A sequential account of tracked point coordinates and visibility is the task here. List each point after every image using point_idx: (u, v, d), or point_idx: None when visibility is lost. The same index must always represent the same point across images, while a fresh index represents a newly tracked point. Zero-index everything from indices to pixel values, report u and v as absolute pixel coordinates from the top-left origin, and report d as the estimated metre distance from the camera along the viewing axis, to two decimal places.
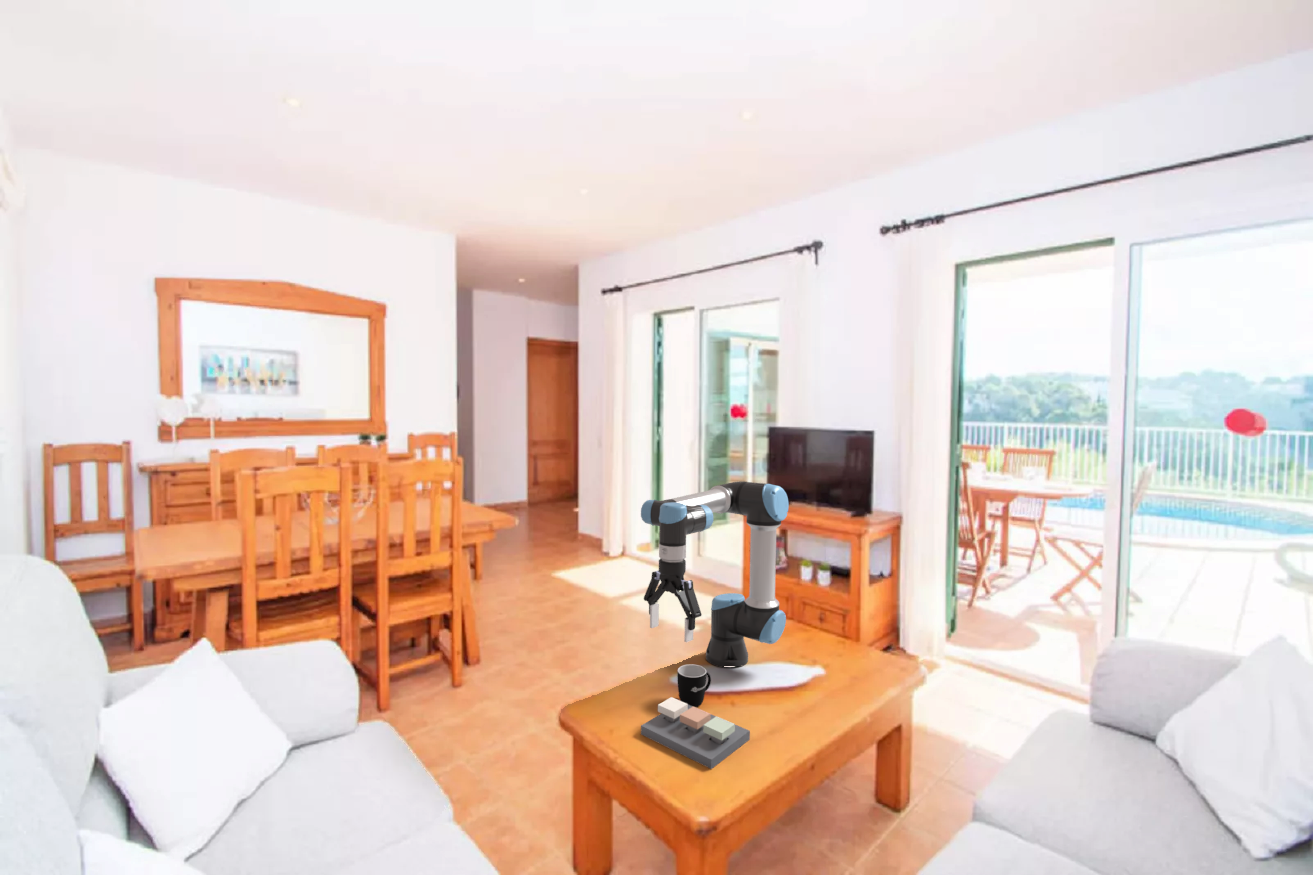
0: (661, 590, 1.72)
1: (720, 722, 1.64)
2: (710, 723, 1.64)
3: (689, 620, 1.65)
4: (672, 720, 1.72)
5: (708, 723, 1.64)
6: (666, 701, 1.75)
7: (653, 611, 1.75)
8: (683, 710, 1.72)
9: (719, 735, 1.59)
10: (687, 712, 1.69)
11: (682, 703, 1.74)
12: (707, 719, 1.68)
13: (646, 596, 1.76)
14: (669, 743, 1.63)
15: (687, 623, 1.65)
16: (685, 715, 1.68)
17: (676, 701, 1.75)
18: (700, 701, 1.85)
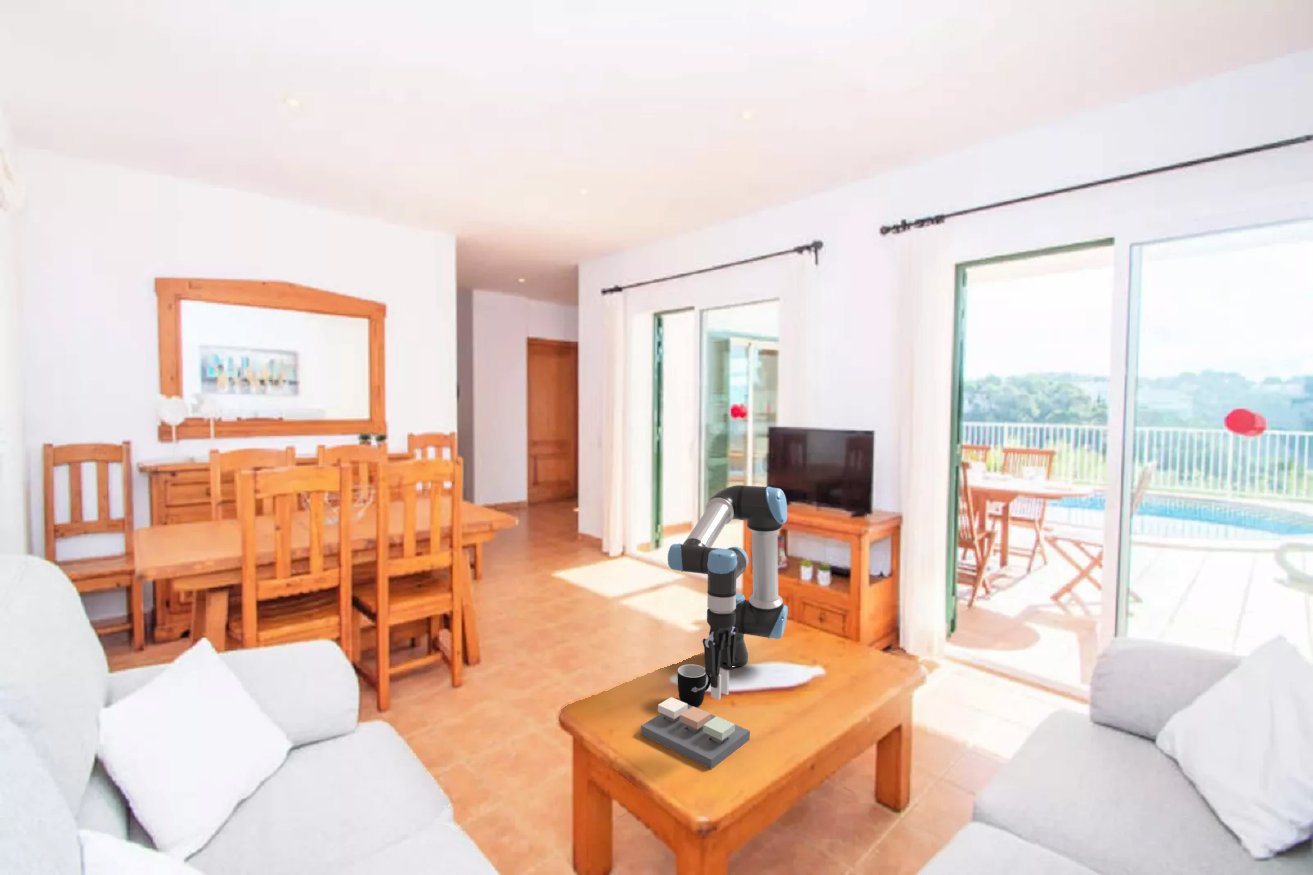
0: None
1: (720, 722, 1.64)
2: (710, 723, 1.64)
3: None
4: (672, 720, 1.72)
5: (708, 723, 1.64)
6: (666, 701, 1.75)
7: (720, 675, 1.64)
8: (683, 710, 1.72)
9: (719, 735, 1.59)
10: (687, 712, 1.69)
11: (682, 703, 1.74)
12: (707, 719, 1.68)
13: None
14: (669, 743, 1.63)
15: None
16: (685, 715, 1.68)
17: (676, 701, 1.75)
18: (700, 701, 1.85)
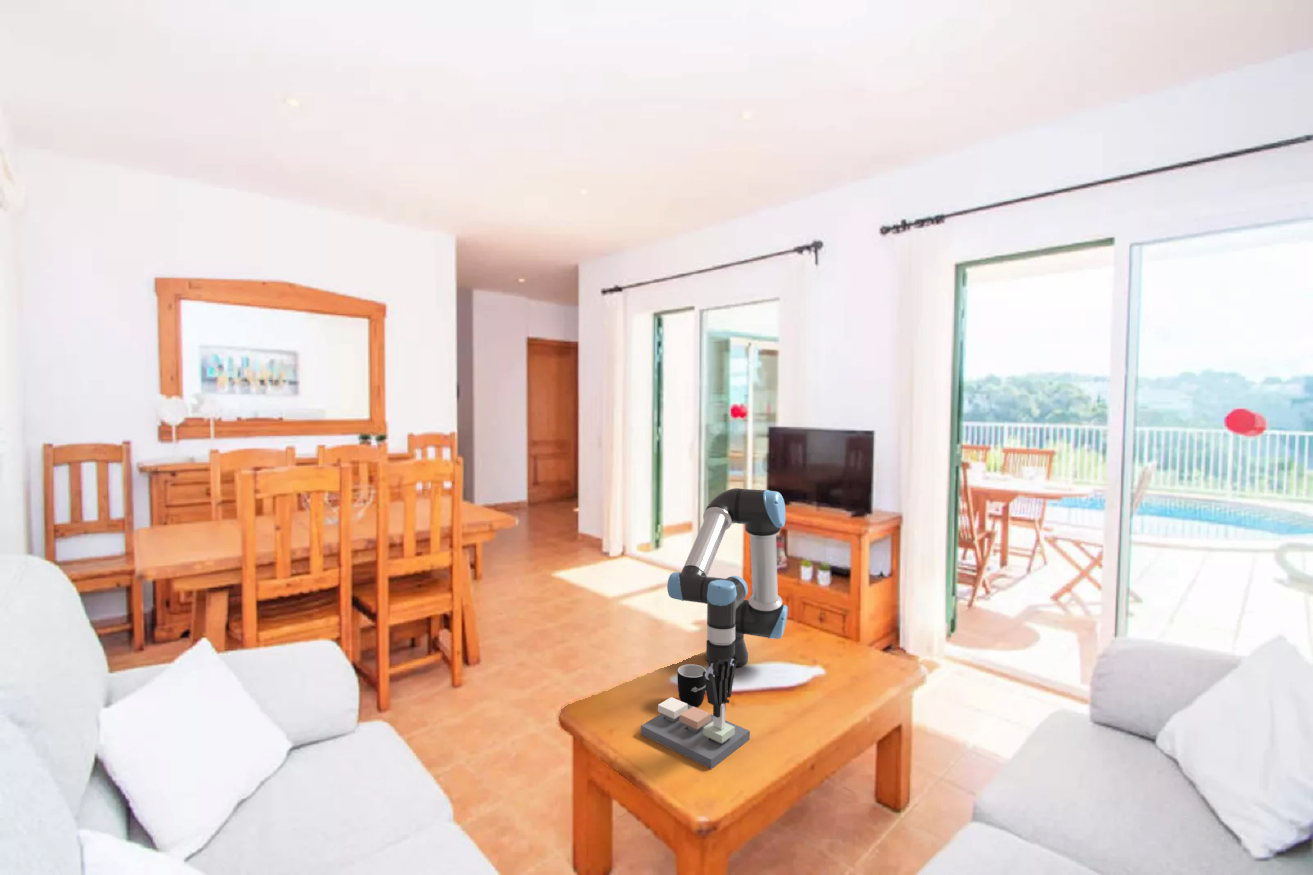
0: None
1: None
2: (710, 726, 1.64)
3: None
4: (672, 720, 1.72)
5: (708, 726, 1.64)
6: (666, 701, 1.75)
7: None
8: (683, 710, 1.72)
9: (719, 738, 1.60)
10: (687, 712, 1.69)
11: (682, 703, 1.74)
12: (707, 719, 1.68)
13: None
14: (669, 743, 1.63)
15: None
16: (685, 715, 1.68)
17: (676, 701, 1.75)
18: (700, 701, 1.85)
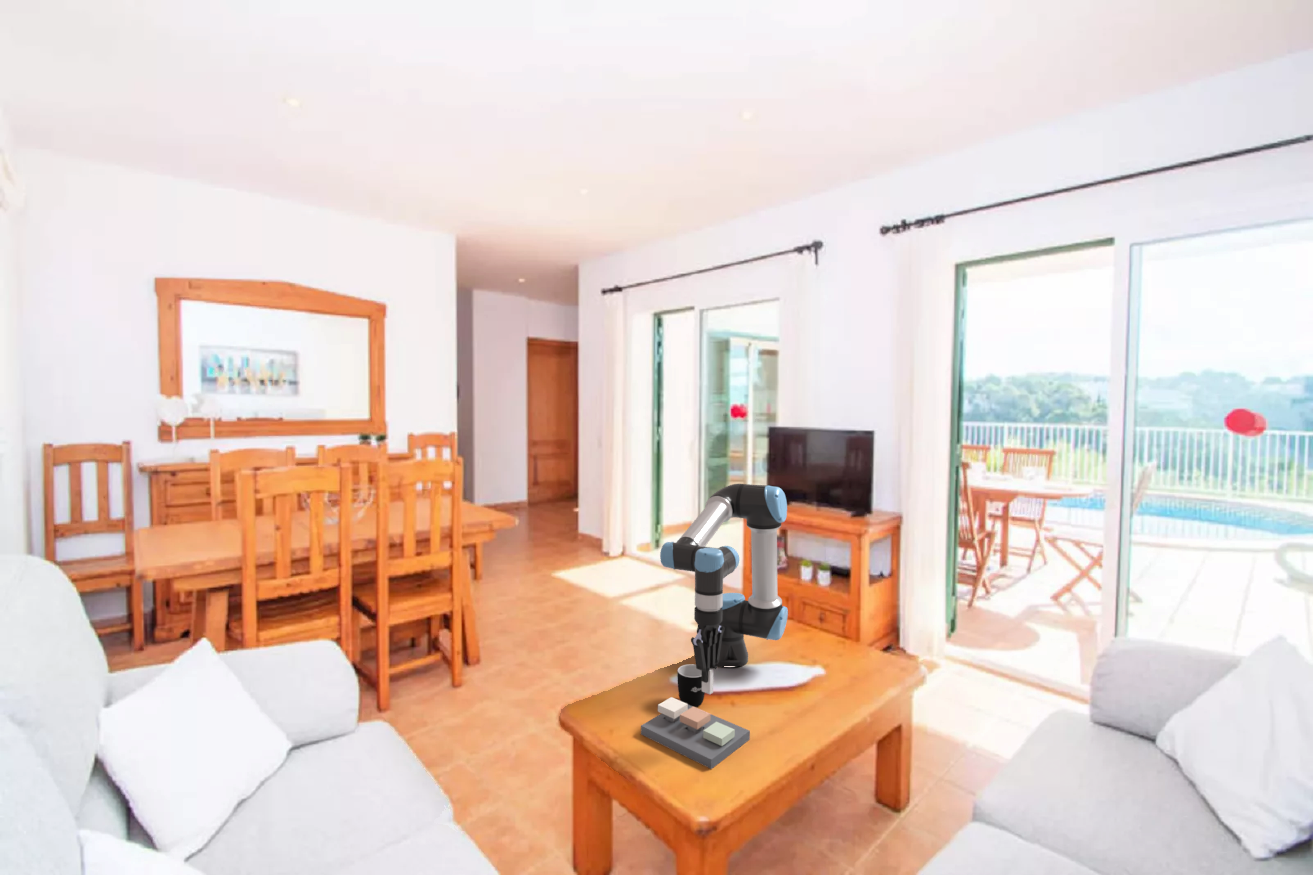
0: None
1: (720, 727, 1.64)
2: (710, 729, 1.64)
3: None
4: (672, 720, 1.72)
5: (708, 729, 1.64)
6: (666, 701, 1.75)
7: None
8: (683, 710, 1.72)
9: (719, 741, 1.60)
10: (687, 712, 1.69)
11: (682, 703, 1.74)
12: (707, 719, 1.68)
13: None
14: (669, 743, 1.63)
15: None
16: (685, 715, 1.68)
17: (676, 701, 1.75)
18: (700, 701, 1.85)
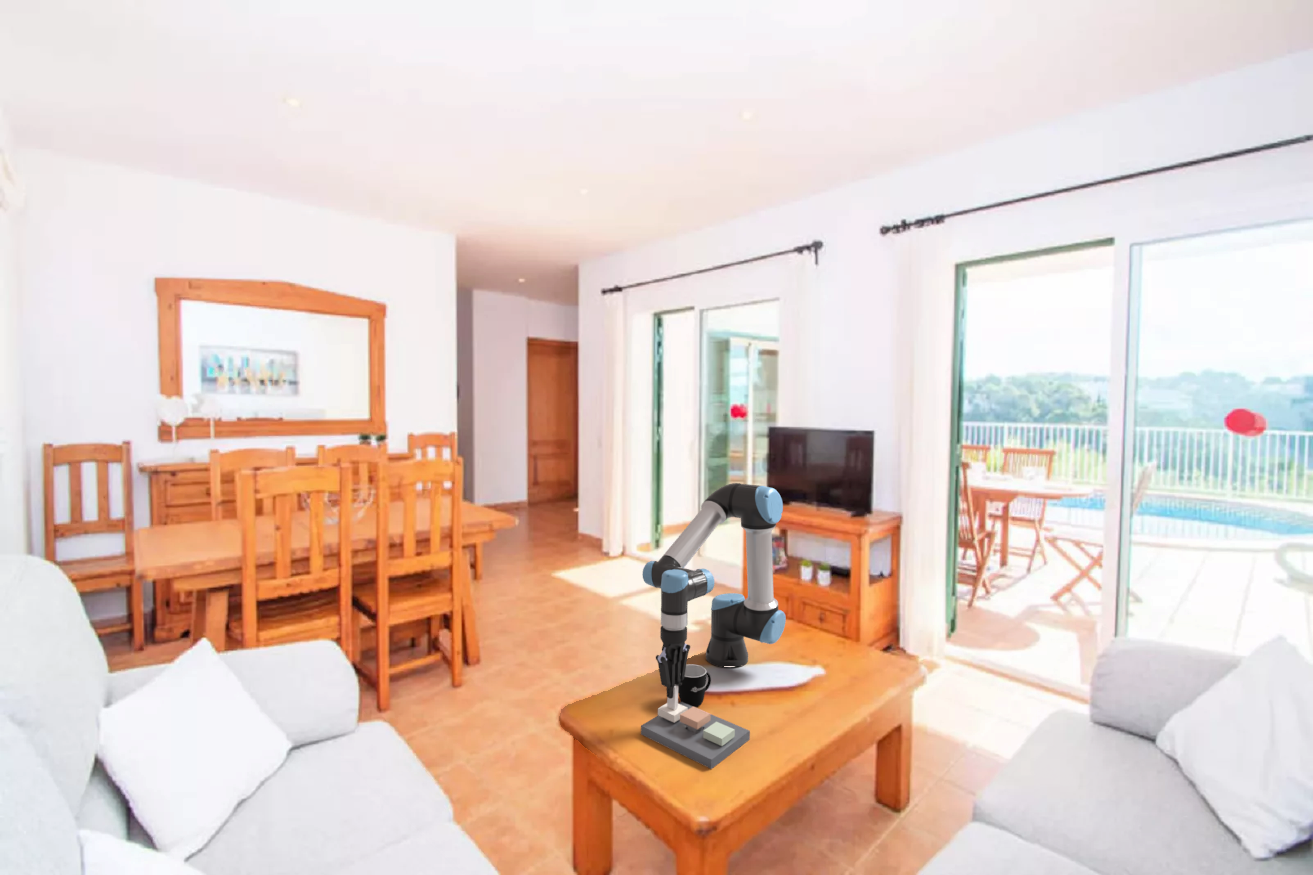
0: None
1: (720, 727, 1.64)
2: (710, 729, 1.64)
3: None
4: None
5: (708, 729, 1.64)
6: (666, 705, 1.75)
7: None
8: None
9: (719, 741, 1.60)
10: (687, 712, 1.69)
11: (682, 707, 1.74)
12: (707, 719, 1.68)
13: None
14: (669, 743, 1.63)
15: None
16: (685, 715, 1.68)
17: None
18: (700, 701, 1.85)
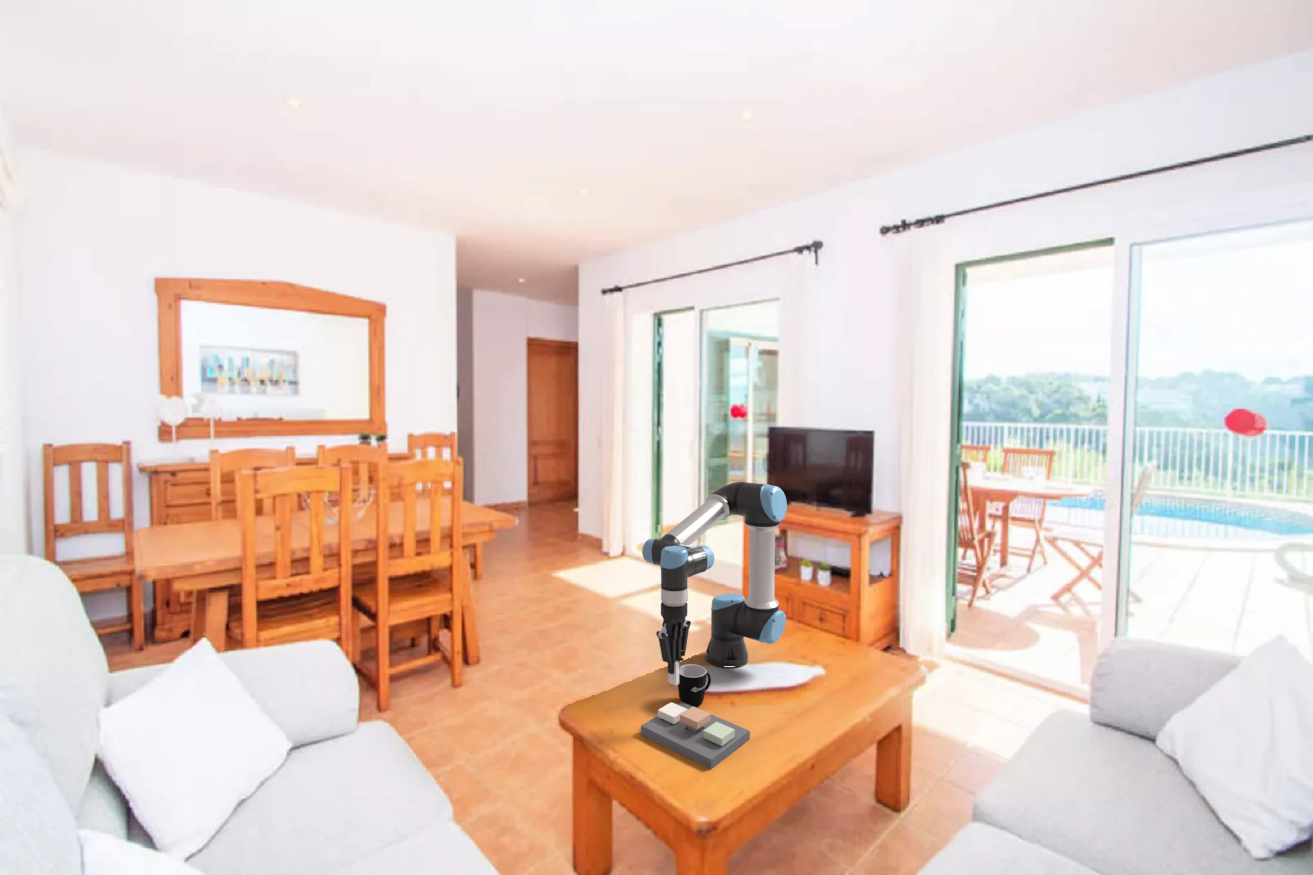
0: None
1: (720, 727, 1.64)
2: (710, 729, 1.64)
3: None
4: None
5: (708, 729, 1.64)
6: (666, 706, 1.75)
7: None
8: None
9: (719, 741, 1.60)
10: (687, 712, 1.69)
11: (682, 708, 1.74)
12: (707, 719, 1.68)
13: None
14: (669, 743, 1.63)
15: None
16: (685, 715, 1.68)
17: (675, 706, 1.75)
18: (700, 701, 1.85)
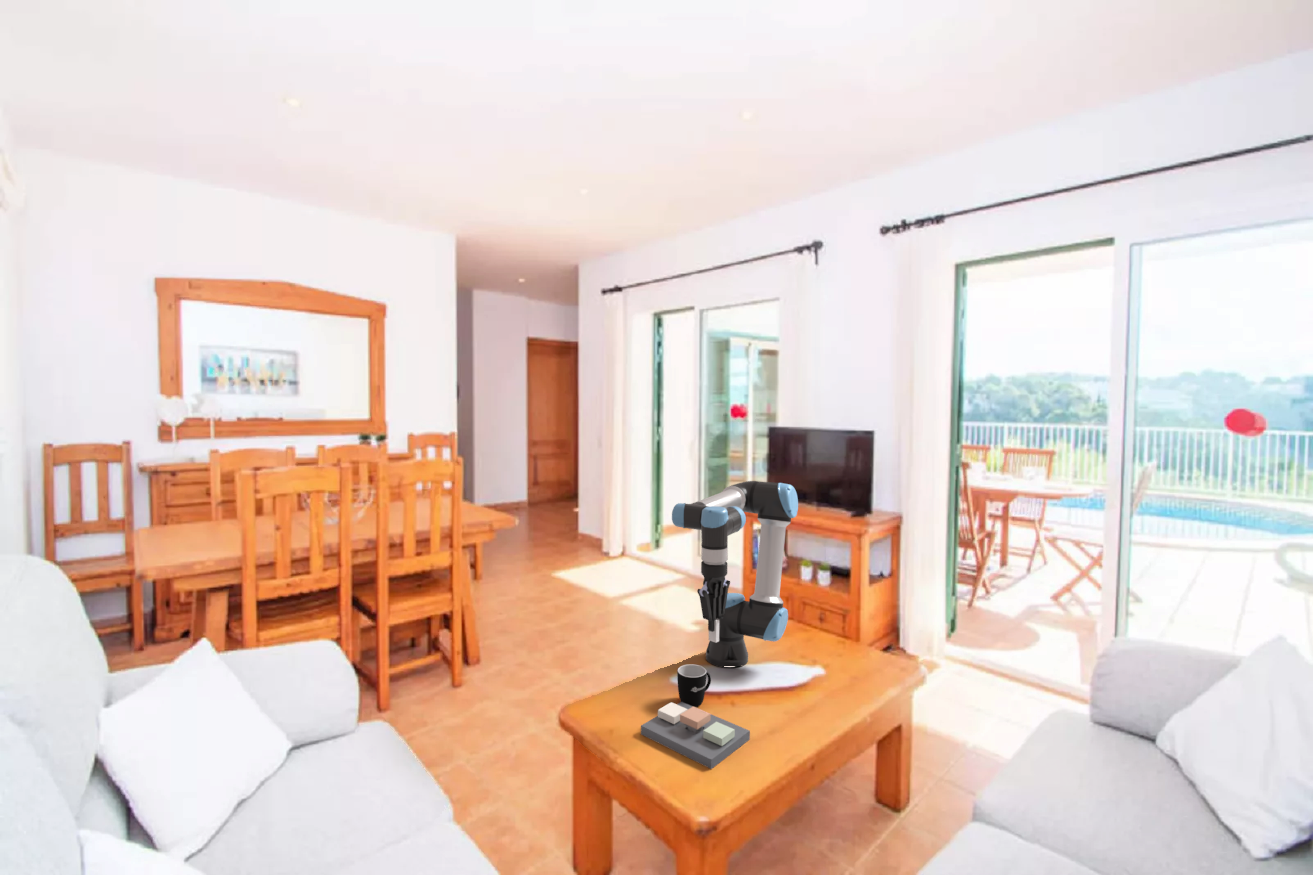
0: None
1: (720, 727, 1.64)
2: (710, 729, 1.64)
3: None
4: None
5: (708, 729, 1.64)
6: (666, 706, 1.75)
7: None
8: None
9: (719, 741, 1.60)
10: (687, 712, 1.69)
11: (682, 708, 1.74)
12: (707, 719, 1.68)
13: None
14: (669, 743, 1.63)
15: None
16: (685, 715, 1.68)
17: (675, 706, 1.75)
18: (700, 701, 1.85)
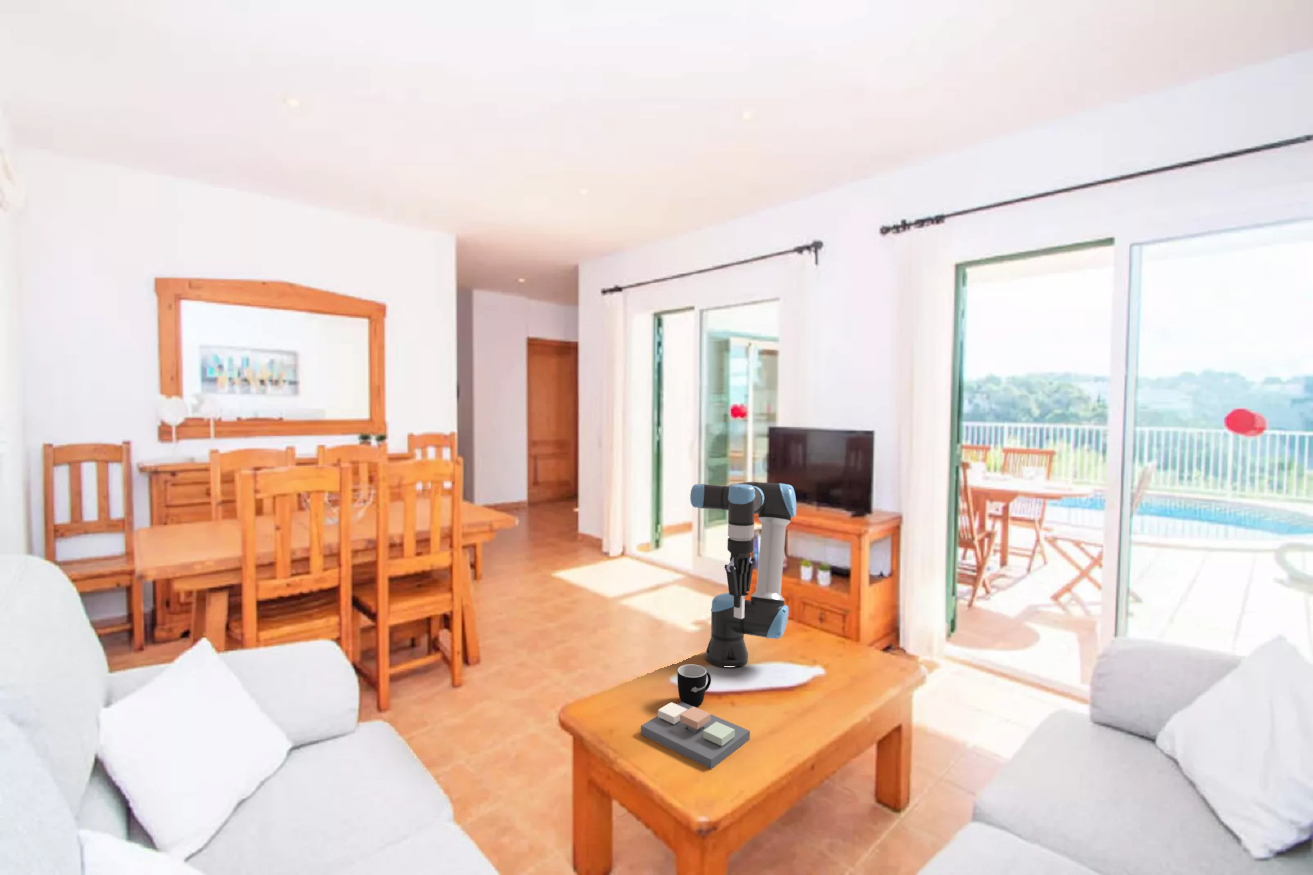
0: None
1: (720, 727, 1.64)
2: (710, 729, 1.64)
3: None
4: None
5: (708, 729, 1.64)
6: (666, 706, 1.75)
7: None
8: None
9: (719, 741, 1.60)
10: (687, 712, 1.69)
11: (682, 708, 1.74)
12: (707, 719, 1.68)
13: None
14: (669, 743, 1.63)
15: None
16: (685, 715, 1.68)
17: (675, 706, 1.75)
18: (700, 701, 1.85)
